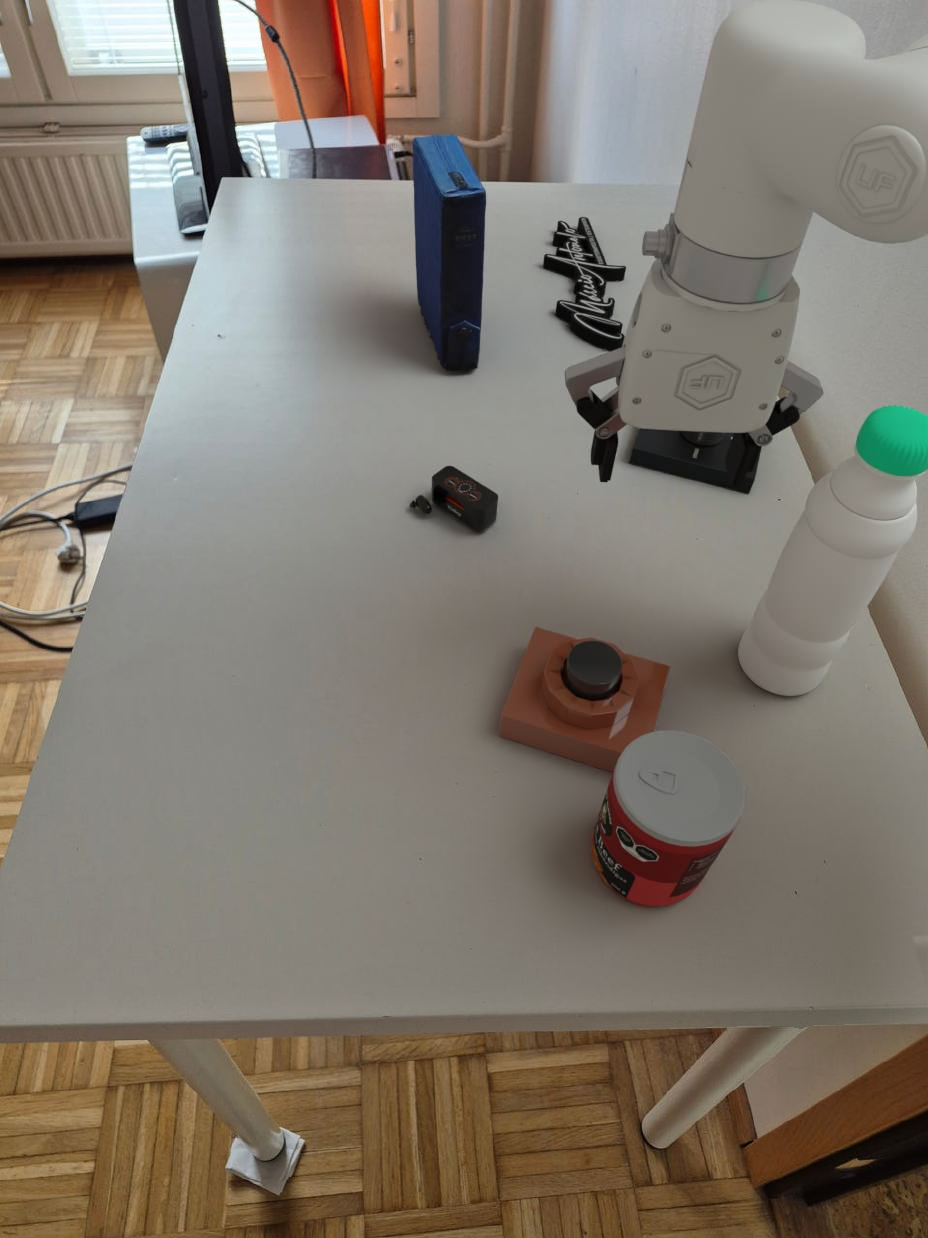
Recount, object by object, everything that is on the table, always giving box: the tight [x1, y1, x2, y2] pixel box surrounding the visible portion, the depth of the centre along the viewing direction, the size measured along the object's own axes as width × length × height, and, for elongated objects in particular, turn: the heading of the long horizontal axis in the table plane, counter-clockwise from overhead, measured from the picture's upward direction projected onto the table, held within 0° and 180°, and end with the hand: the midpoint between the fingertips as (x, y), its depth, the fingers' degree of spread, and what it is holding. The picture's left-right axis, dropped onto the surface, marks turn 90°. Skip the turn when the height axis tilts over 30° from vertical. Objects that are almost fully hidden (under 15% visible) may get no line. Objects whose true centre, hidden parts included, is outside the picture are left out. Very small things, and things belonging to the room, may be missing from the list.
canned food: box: [590, 729, 746, 908], centre depth 58 cm, size 8×8×11 cm
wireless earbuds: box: [409, 465, 499, 533], centre depth 81 cm, size 5×7×3 cm, turn 49°
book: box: [411, 133, 487, 372], centre depth 92 cm, size 14×5×20 cm, turn 14°
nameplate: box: [542, 216, 627, 352], centre depth 108 cm, size 28×2×10 cm
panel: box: [628, 428, 762, 494], centre depth 89 cm, size 12×10×2 cm
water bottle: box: [737, 405, 928, 697], centre depth 63 cm, size 7×7×25 cm
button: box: [564, 641, 622, 700], centre depth 65 cm, size 4×4×2 cm
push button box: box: [498, 626, 671, 773], centre depth 68 cm, size 11×9×5 cm
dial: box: [681, 431, 725, 446], centre depth 86 cm, size 4×4×5 cm
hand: (667, 472), depth 66 cm, fingers open, 9 cm apart
